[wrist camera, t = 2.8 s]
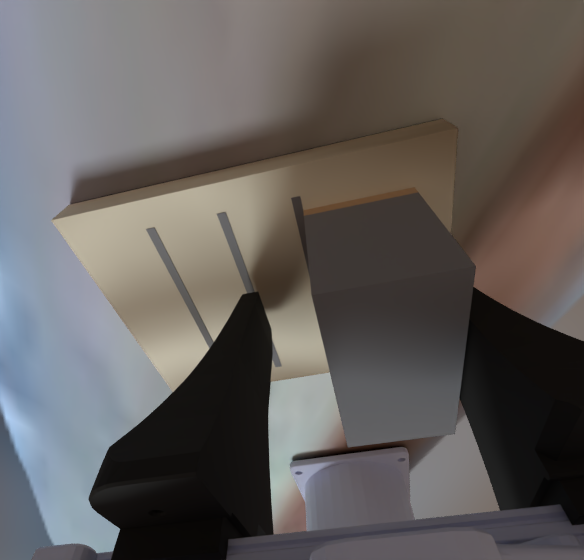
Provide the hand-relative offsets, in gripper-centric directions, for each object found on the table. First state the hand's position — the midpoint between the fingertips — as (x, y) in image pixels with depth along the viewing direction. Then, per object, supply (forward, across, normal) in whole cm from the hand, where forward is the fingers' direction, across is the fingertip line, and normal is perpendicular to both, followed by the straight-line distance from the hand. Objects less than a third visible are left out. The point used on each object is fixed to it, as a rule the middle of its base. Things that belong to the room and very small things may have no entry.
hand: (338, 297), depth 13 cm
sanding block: (+1, -1, 0) cm, 1 cm away
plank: (+2, +2, 0) cm, 3 cm away
